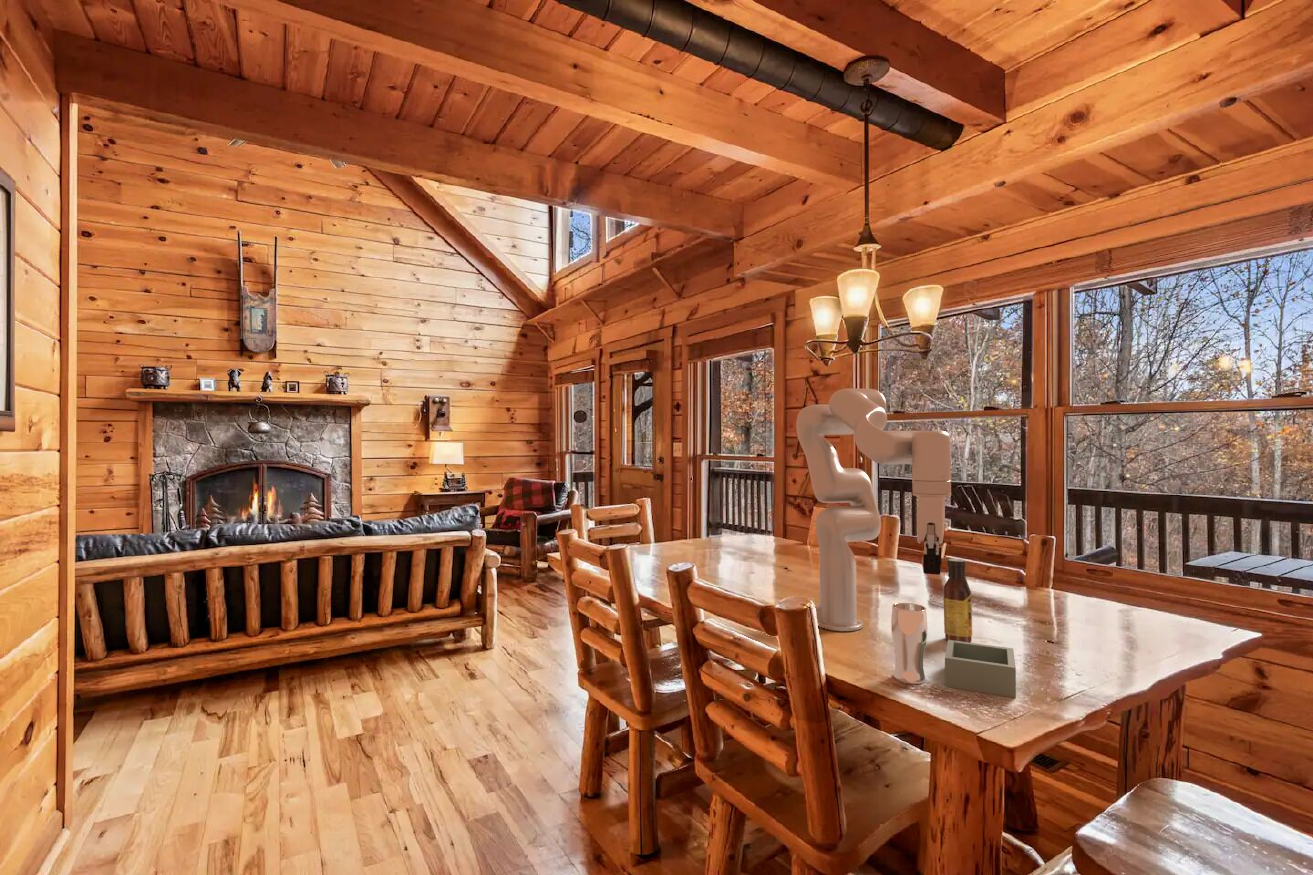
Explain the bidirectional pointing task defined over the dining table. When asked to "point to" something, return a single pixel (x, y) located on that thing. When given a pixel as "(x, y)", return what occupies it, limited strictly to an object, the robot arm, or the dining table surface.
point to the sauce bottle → (957, 603)
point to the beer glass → (909, 641)
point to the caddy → (980, 668)
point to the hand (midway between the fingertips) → (932, 569)
